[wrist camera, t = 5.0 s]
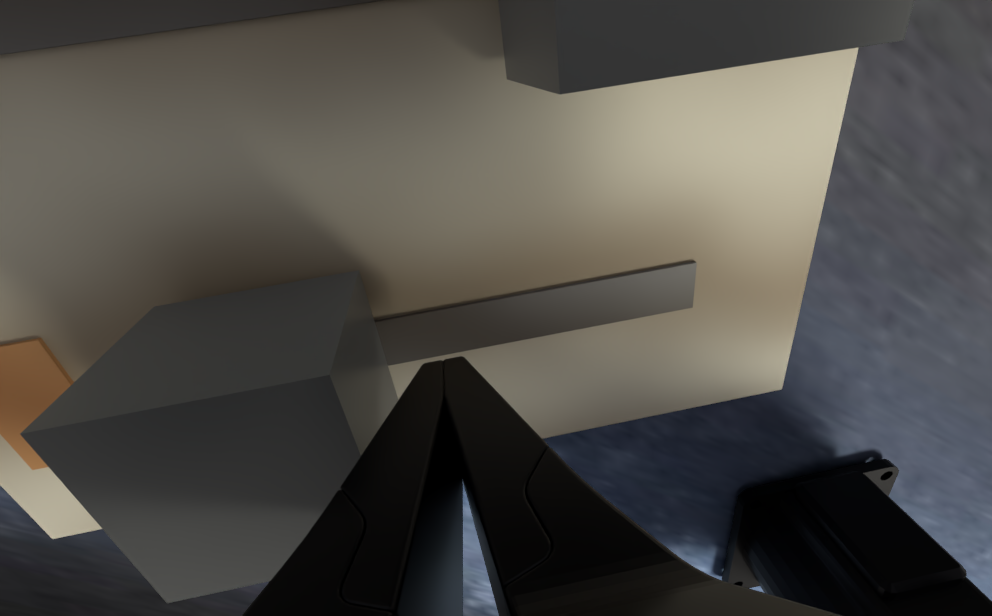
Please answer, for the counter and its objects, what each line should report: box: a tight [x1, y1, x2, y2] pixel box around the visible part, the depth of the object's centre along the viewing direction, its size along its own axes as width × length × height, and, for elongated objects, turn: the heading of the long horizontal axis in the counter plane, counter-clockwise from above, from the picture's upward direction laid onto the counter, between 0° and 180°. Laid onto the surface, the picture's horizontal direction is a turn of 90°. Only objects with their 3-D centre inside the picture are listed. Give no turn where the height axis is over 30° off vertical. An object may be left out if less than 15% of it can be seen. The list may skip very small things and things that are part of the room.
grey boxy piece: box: [20, 270, 398, 603], centre depth 9 cm, size 4×4×4 cm
